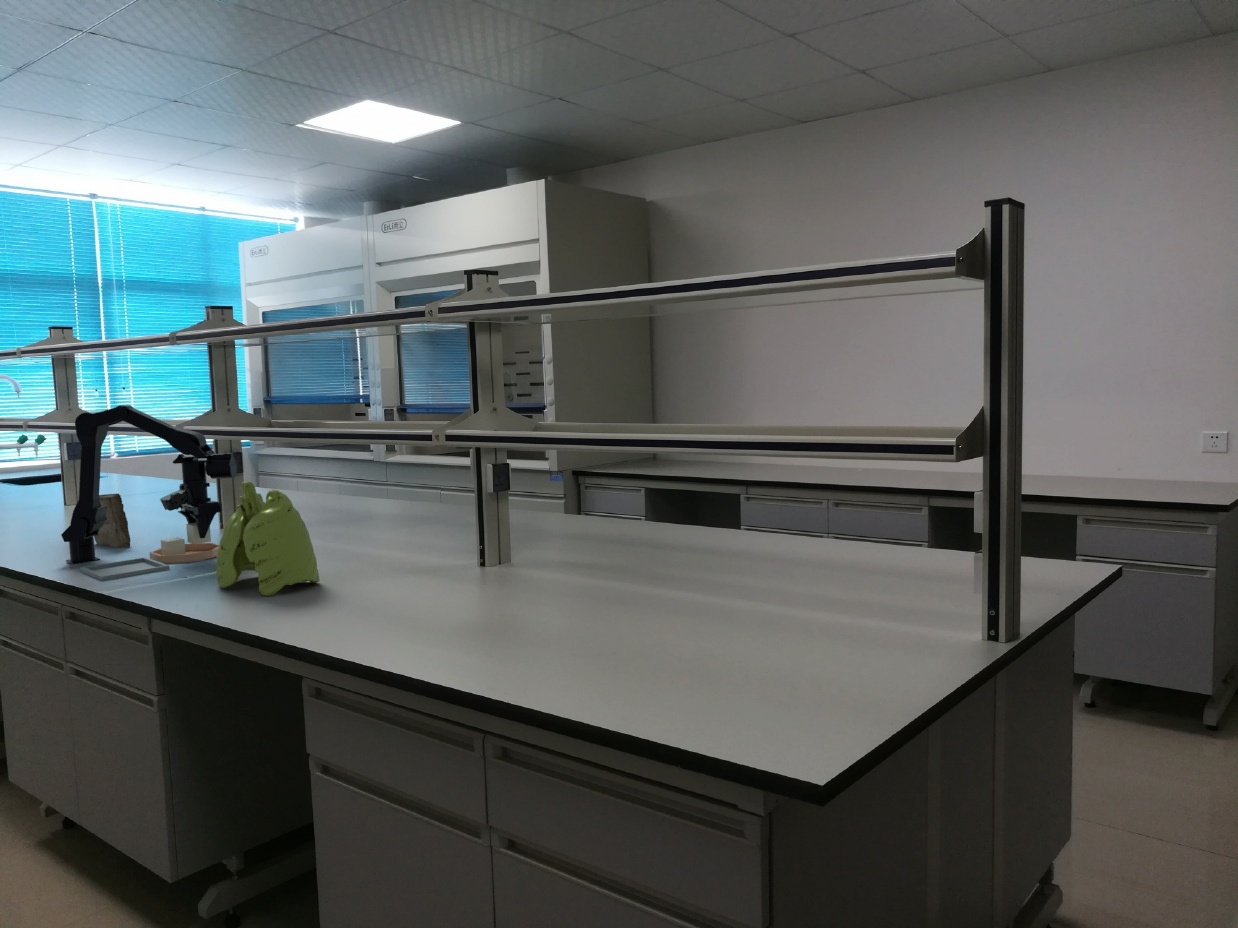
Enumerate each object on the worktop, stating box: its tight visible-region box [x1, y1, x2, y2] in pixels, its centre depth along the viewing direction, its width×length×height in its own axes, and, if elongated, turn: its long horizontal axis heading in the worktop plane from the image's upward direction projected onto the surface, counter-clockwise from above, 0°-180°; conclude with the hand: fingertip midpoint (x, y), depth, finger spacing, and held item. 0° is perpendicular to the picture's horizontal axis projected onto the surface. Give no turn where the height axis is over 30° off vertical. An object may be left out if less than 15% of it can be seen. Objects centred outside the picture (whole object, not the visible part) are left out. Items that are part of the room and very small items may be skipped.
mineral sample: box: [93, 493, 131, 549], centre depth 260 cm, size 17×4×15 cm, turn 55°
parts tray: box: [79, 556, 171, 582], centre depth 222 cm, size 17×15×2 cm
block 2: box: [185, 523, 212, 544], centre depth 240 cm, size 4×4×5 cm
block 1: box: [160, 536, 186, 555], centre depth 235 cm, size 4×4×5 cm
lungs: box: [215, 481, 320, 597], centre depth 203 cm, size 25×16×24 cm, turn 57°
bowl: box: [149, 542, 220, 564], centre depth 238 cm, size 16×16×2 cm
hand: (198, 537), depth 240 cm, fingers closed on block 2, 4 cm apart
